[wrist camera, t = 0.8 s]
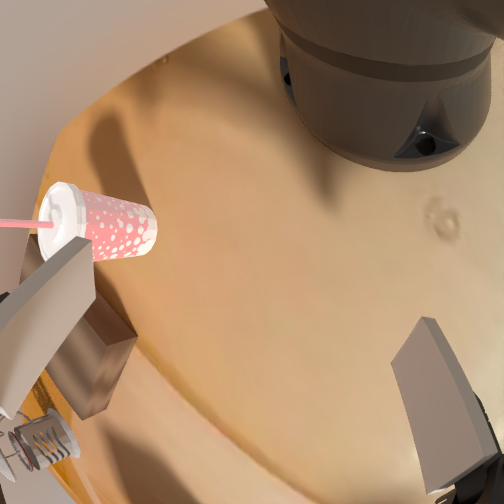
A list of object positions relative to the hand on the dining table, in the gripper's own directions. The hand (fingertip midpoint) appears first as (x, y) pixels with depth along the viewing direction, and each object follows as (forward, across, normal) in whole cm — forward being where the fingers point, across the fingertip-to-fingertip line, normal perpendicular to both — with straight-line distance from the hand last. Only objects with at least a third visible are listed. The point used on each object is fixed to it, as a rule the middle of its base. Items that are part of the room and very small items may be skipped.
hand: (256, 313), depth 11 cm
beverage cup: (+15, -10, -6) cm, 19 cm away
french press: (+7, -24, -42) cm, 48 cm away
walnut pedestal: (+13, -18, -19) cm, 29 cm away
